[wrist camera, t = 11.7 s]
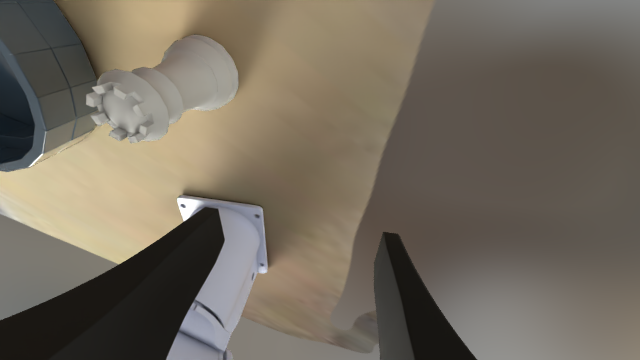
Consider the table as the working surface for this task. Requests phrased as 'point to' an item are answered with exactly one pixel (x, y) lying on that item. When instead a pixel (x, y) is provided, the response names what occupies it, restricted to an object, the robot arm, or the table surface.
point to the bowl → (41, 84)
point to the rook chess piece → (165, 89)
